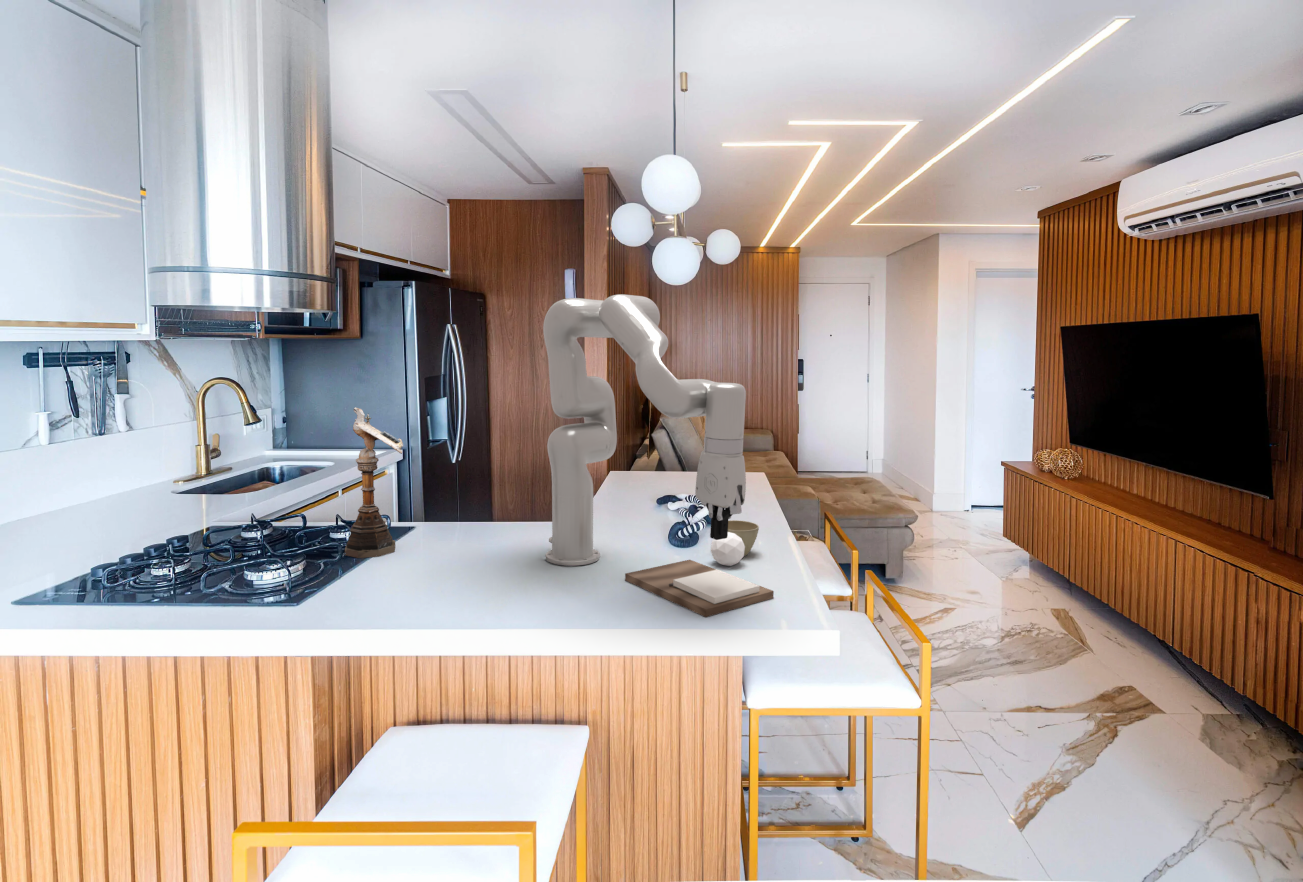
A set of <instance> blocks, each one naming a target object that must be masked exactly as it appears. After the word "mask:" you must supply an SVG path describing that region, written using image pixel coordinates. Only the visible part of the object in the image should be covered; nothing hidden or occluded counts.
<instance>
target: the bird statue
mask: <svg viewBox="0 0 1303 882" xmlns="http://www.w3.org/2000/svg"><path fill="white" fill-rule="evenodd" d="M353 412H354V413H355V414H356V418H355V419H354V422H353V424H352V425H353V426H352V431H353V432H354V433H355V434H356V435H357V436H358V437H360V438H362V439H363V444H364V446H365V447H364V448H362V449H361V450H360V451H359V453H358V458H356V459H355V463H357V470H358V471H359V472H361V473H360V474H361V481H362V483H361V484H362V485H361V486H362V487H361V489H360V491H362V505H361V506H360V507H359V508H358V509H357V512H358V514H357V517H356V519H355V522H354V523H353V524H352V526H351V528H350V530H349V532H350V534H349V537H348V540H347V542H346V546H345V548H344V555H345V556H346V557H347V556H348V557H353V558H357V559H364V558H377V557H379V558H380V557H384V556H385V555H389V554H392V553H395V550H396V540H395V539H393V536H392V535H391V533H390V530H389V528H388V527H389V525H387V523H386V521H385V520H384V519H383V517H382V515H381V513H380V508H379V507H378V506H377V505H376V504H375V494H374V493H375V490H376V488H375V486H374V474H375V471H377V470H378V462H379V458H378V457H377V456H376V454H377V453H376V451H375V450H374V449H375V446H376V441H382V442H383V443H384V444H386V445H388V446H389V447H390V448H392V449H394V450H395V451H396V452H397V453H399V454H402V453H403V450H402V448H403V447H404V444H403V441H402V439H401V438H397V437H395V436H393V435H392V434H390V433H389V432H387V431H385V430H384V431H381V430H380V429H378V428H376V427H374V426H372V425H371V423H370V420H371V419H372V417H370V414H369V413H367V414H366V415H365V413H364V411H363V409H362V408H359V407H354V408H353ZM365 420H366V421H365ZM345 553H346V554H345Z"/></svg>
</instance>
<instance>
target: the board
mask: <svg viewBox="0 0 1303 882" xmlns="http://www.w3.org/2000/svg"><path fill="white" fill-rule="evenodd" d="M713 570H717V569H716V568H713V567H711V566H708V565H706V564H703V563H700V562H697V561H694V560H691V559H686V560H681V561H677V562H673V563H668V564H663V565H660V566H654V567H650V568H645V569H640V570H635V571H632V572H627V573H624V575H625V576H624V577H625V578H624V580H625V581H626V582H628V583H630V584H633V585H635V586H636V587H639V588H642V589H643V590H645V591H648V592H650V593H652V594H654V595H656V596H659V597H660V598H662V599H665V600H667V601H669V602H672V603H673V604H676V605H678V606H680V607H682V608H685V609H687V610H689V611H691V612H693V613H695V614H697V615H700V616H702V617H704V618H708V617H709V618H710V617H713V616H715V615H719V614H722V613H726V612H729V611H730V612H731V611H733V610H736V609H739V608H743V607H747V606H750V605H754V604H757V603H761V602H765V601H768V600H771V599H774V592H775V591H774V590H772V589H769V588H768V587H765V586H761V585H759V586H760V590H759V592H757V593H754V594H750V595H746V596H743V597H739V598H735V599H732V600H728V601H724V602H721V603H717V604H713V603H711V602H709V601H706V600H704V599H702V598H700V597H697V596H695V595H693V594H691V593H689V592H686V591H684V590H682V589H680V588H677V587H675V586H673V580H674V579H679V578H683V577H687V576H692V575H696V574H700V573H704V572H709V571H713Z"/></svg>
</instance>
